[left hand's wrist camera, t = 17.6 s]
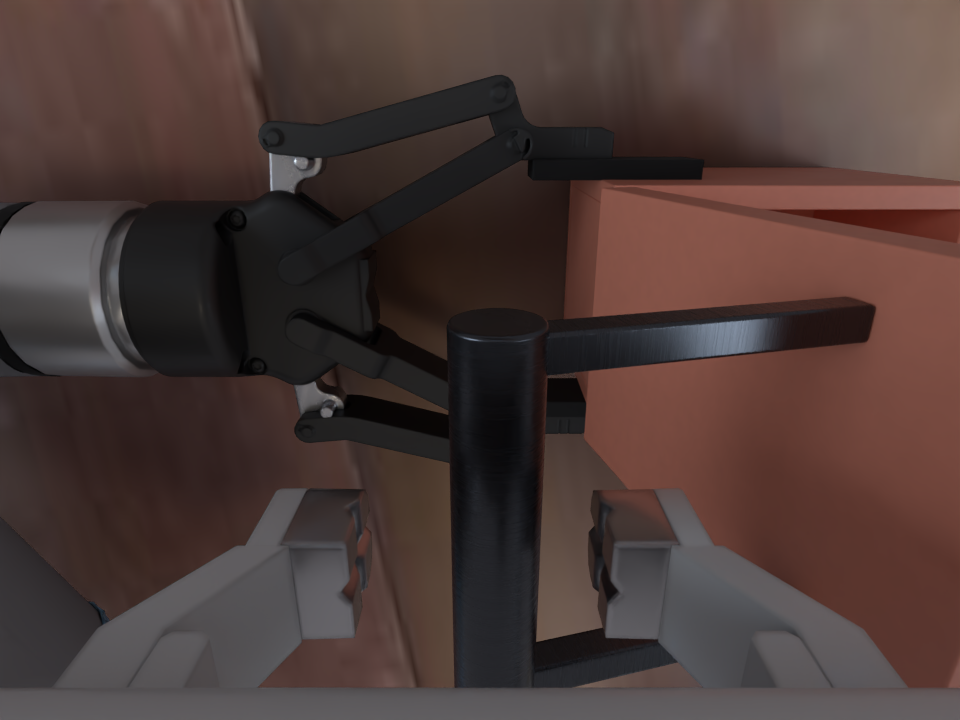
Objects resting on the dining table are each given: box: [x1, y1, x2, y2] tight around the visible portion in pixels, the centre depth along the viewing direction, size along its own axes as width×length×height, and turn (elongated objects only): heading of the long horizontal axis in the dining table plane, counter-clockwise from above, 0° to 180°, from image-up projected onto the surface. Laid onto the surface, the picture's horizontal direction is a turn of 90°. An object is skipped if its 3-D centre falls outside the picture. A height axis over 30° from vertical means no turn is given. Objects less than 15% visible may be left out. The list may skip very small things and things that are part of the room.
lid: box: [447, 187, 960, 688], centre depth 15 cm, size 14×10×9 cm
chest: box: [564, 167, 960, 404], centre depth 27 cm, size 13×10×11 cm
